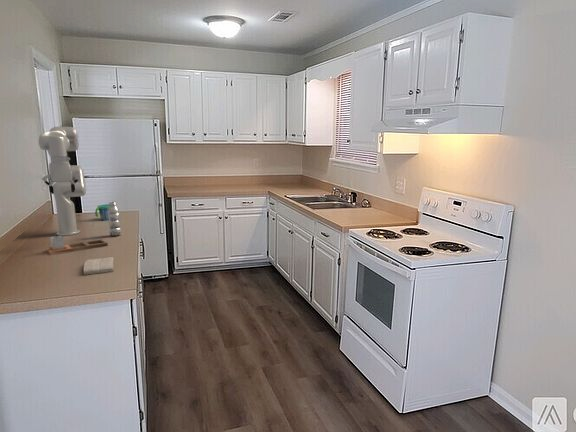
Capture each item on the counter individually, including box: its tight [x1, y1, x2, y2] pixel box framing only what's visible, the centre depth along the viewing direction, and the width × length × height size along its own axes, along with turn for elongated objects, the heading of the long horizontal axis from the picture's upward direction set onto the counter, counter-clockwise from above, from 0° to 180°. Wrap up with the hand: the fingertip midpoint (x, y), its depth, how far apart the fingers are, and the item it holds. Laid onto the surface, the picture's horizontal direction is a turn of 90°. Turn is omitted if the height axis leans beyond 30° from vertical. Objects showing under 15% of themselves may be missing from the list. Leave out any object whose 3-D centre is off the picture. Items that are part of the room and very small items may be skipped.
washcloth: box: [83, 256, 115, 276], centre depth 179 cm, size 12×18×3 cm, turn 24°
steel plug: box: [49, 235, 65, 251], centre depth 205 cm, size 5×5×7 cm
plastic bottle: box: [107, 201, 122, 237], centre depth 237 cm, size 6×7×20 cm
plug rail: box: [45, 238, 109, 256], centre depth 212 cm, size 11×27×2 cm, turn 130°
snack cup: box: [94, 203, 110, 221], centre depth 287 cm, size 16×10×10 cm
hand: (62, 192), depth 214 cm, fingers open, 9 cm apart
